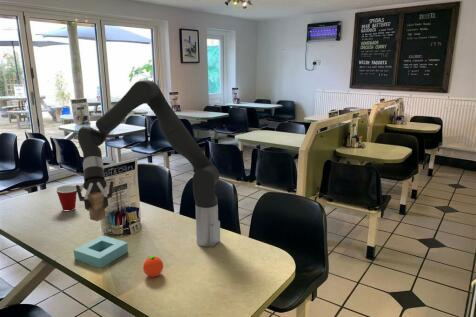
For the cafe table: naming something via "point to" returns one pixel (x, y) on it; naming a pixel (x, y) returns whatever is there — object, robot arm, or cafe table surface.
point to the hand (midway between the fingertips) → (97, 208)
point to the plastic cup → (67, 196)
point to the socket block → (99, 259)
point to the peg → (96, 206)
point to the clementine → (153, 266)
